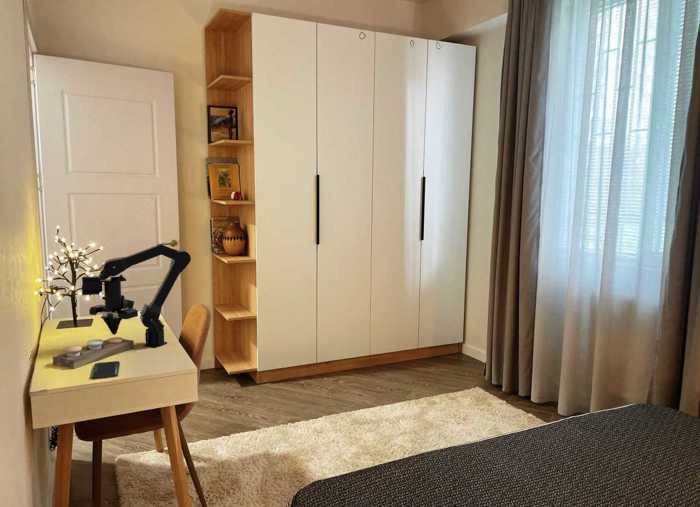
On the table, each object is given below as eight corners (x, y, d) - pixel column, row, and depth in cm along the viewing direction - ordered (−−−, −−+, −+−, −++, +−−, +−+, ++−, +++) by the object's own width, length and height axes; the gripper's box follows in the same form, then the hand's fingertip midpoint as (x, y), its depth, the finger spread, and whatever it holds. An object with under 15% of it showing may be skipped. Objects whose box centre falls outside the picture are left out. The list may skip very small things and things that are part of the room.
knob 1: (85, 357, 182) (85, 346, 182) (72, 361, 177) (71, 350, 177) (74, 355, 184) (74, 345, 184) (61, 359, 179) (61, 349, 179)
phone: (119, 360, 182) (117, 374, 168) (119, 363, 182) (118, 377, 168) (94, 363, 179) (90, 377, 165) (94, 366, 179) (90, 380, 165)
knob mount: (133, 348, 199) (133, 340, 199) (74, 368, 175) (73, 360, 175) (114, 345, 203) (113, 337, 202) (53, 364, 179) (52, 356, 179)
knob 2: (126, 347, 199) (125, 338, 198) (115, 351, 194) (114, 341, 193) (115, 346, 201) (115, 336, 200) (104, 349, 196) (104, 340, 195)
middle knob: (106, 350, 190) (106, 340, 190) (94, 354, 185) (94, 344, 185) (96, 348, 192) (95, 338, 192) (84, 352, 187) (83, 342, 187)
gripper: (148, 291, 199) (149, 332, 200) (111, 287, 206) (112, 326, 207) (125, 297, 188) (126, 339, 190) (87, 292, 196) (89, 333, 197)
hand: (114, 334), depth 197 cm, fingers closed
